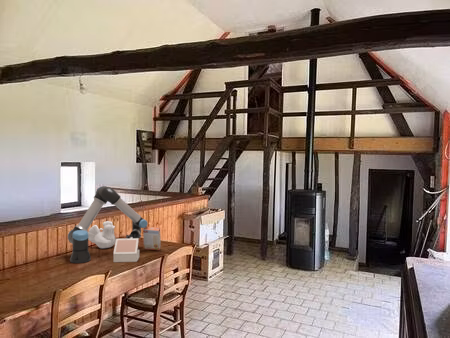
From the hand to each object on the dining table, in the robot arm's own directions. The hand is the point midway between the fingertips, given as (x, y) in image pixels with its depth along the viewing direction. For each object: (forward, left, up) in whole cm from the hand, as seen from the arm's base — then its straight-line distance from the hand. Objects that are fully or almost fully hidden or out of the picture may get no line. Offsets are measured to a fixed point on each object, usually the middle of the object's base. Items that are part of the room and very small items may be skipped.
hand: (130, 240), depth 286 cm
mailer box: (-4, -1, -15) cm, 15 cm away
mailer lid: (-5, -3, -3) cm, 7 cm away
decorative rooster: (-4, +52, -15) cm, 54 cm away
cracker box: (+28, +14, -13) cm, 34 cm away
